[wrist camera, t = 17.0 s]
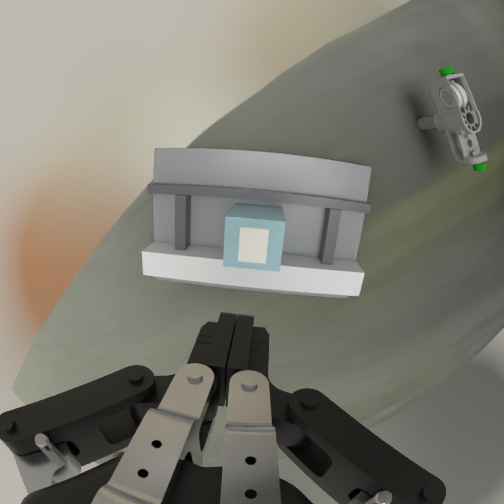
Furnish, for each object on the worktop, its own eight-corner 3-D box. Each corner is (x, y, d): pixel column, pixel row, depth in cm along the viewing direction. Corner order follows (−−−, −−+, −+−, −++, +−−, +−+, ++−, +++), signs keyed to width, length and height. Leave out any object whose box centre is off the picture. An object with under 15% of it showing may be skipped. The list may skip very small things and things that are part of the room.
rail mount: (367, 166, 28) (383, 169, 23) (344, 293, 33) (354, 313, 29) (158, 148, 29) (141, 148, 24) (159, 275, 34) (145, 291, 30)
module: (281, 206, 29) (285, 222, 22) (277, 246, 31) (279, 273, 24) (235, 202, 29) (224, 217, 22) (233, 242, 31) (222, 267, 24)
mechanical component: (427, 165, 27) (477, 173, 18) (396, 87, 24) (441, 68, 15) (443, 159, 26) (494, 165, 17) (414, 83, 24) (460, 65, 14)
